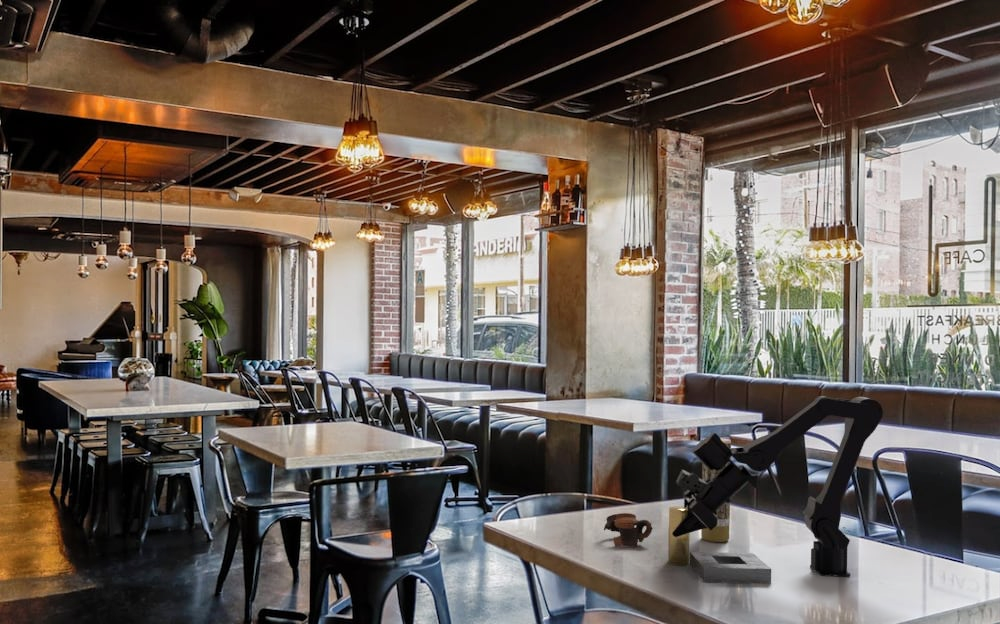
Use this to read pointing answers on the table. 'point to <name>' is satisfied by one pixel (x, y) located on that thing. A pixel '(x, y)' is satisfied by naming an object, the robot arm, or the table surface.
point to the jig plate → (730, 567)
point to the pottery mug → (627, 529)
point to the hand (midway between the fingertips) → (672, 532)
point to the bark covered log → (723, 513)
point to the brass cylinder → (677, 538)
